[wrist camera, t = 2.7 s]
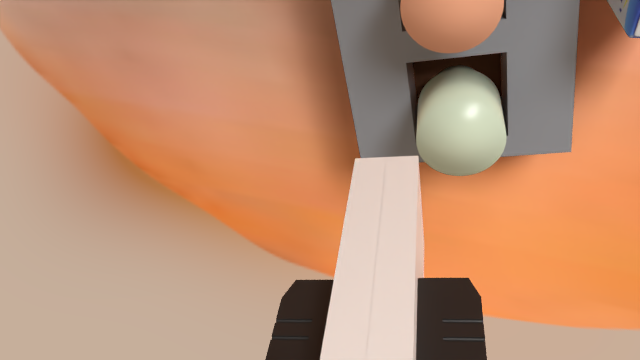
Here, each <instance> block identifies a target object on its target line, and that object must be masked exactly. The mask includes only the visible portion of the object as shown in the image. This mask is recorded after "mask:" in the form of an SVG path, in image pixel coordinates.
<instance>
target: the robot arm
mask: <svg viewBox="0 0 640 360" xmlns="http://www.w3.org/2000/svg"><path fill="white" fill-rule="evenodd" d="M266 360H487V356H486V346H485V335H484V325H483V314H482V303H481V296H480V295H479V293H478V292H477V290H476V289H475V287H474V286H473V284H472V283H471V281H470V280H469V278H424V233H423V218H422V203H421V188H420V173H419V158H418V156H398V157H376V158H355V163H354V168H353V174H352V180H351V185H350V191H349V197H348V202H347V208H346V214H345V219H344V225H343V231H342V236H341V242H340V248H339V253H338V259H337V265H336V270H335V276H334V280H296V281H295V282H294V283H293V284H292V286H291V287H290V288H289V290H288V291H287V292H286V293H285V295H284V296H283V297H282V299H281V303H280V307H279V310H278V315H277V318H276V323H275V326H274V329H273V333H272V340H271V341H270V344H269V348H268V352H267V356H266Z"/></svg>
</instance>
